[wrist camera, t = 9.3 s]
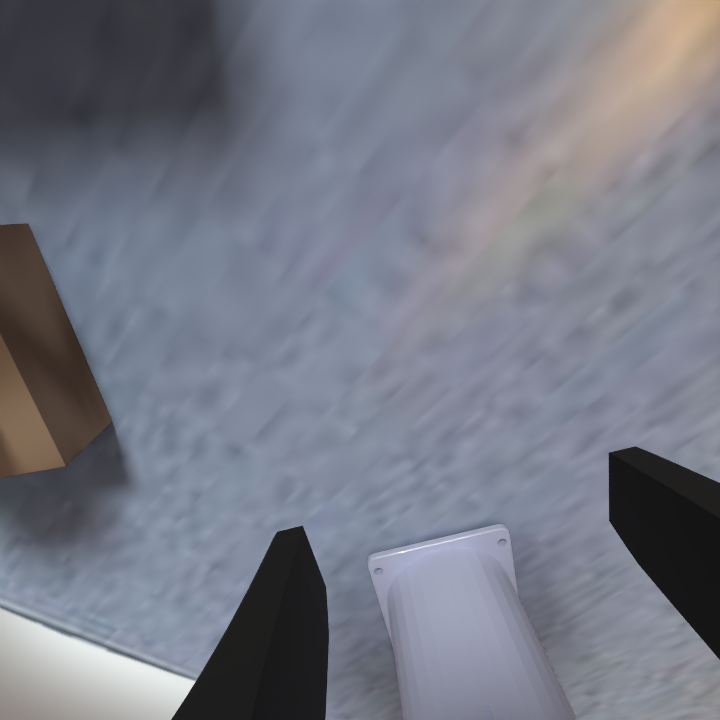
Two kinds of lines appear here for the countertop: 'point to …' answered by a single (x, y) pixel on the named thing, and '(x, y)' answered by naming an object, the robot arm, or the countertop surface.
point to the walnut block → (40, 366)
